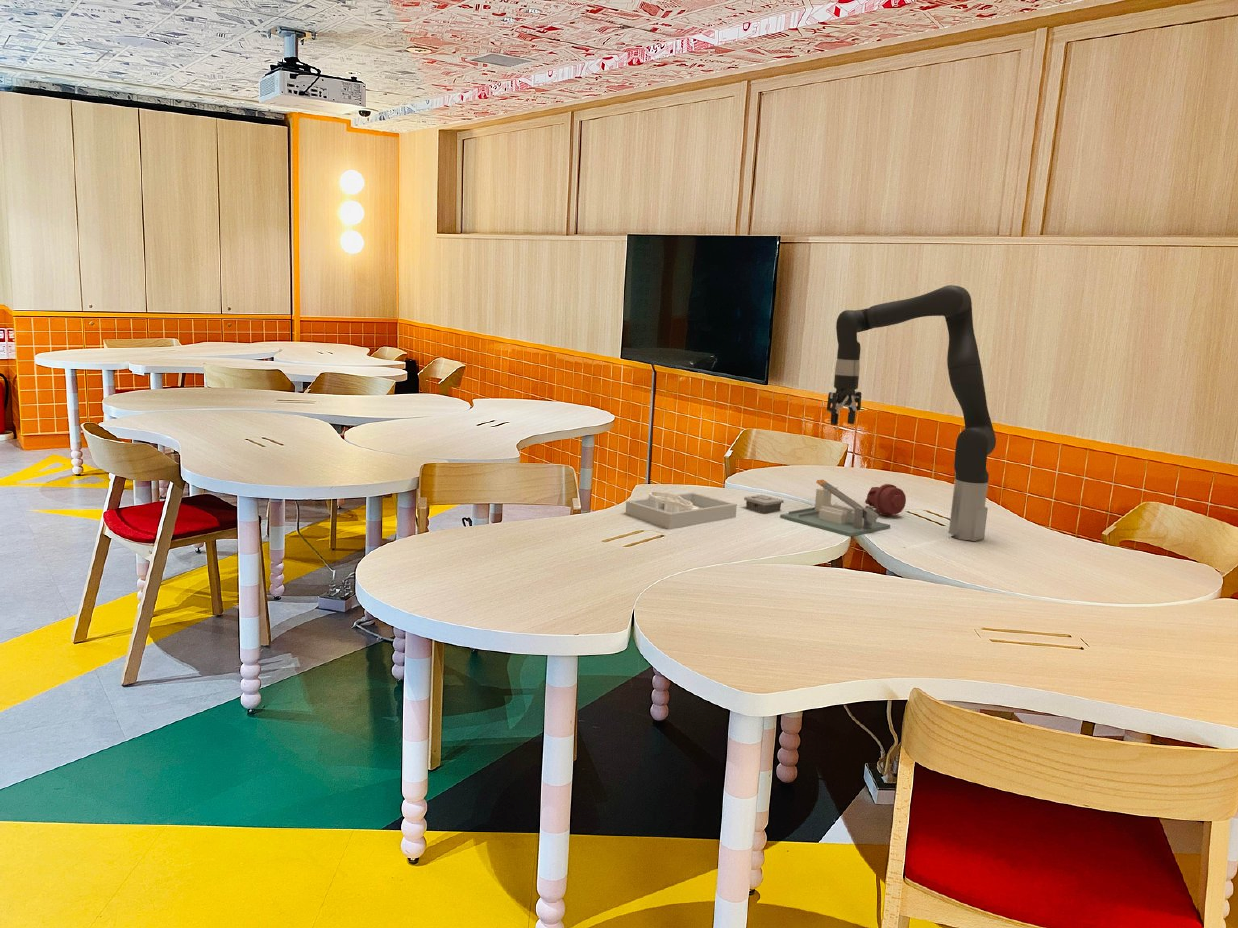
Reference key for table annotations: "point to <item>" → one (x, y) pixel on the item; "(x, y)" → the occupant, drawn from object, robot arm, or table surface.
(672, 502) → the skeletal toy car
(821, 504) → the cream block
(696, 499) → the tray
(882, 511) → the mechanical component
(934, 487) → the table surface
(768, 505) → the electrical switch
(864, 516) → the lever
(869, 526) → the board
